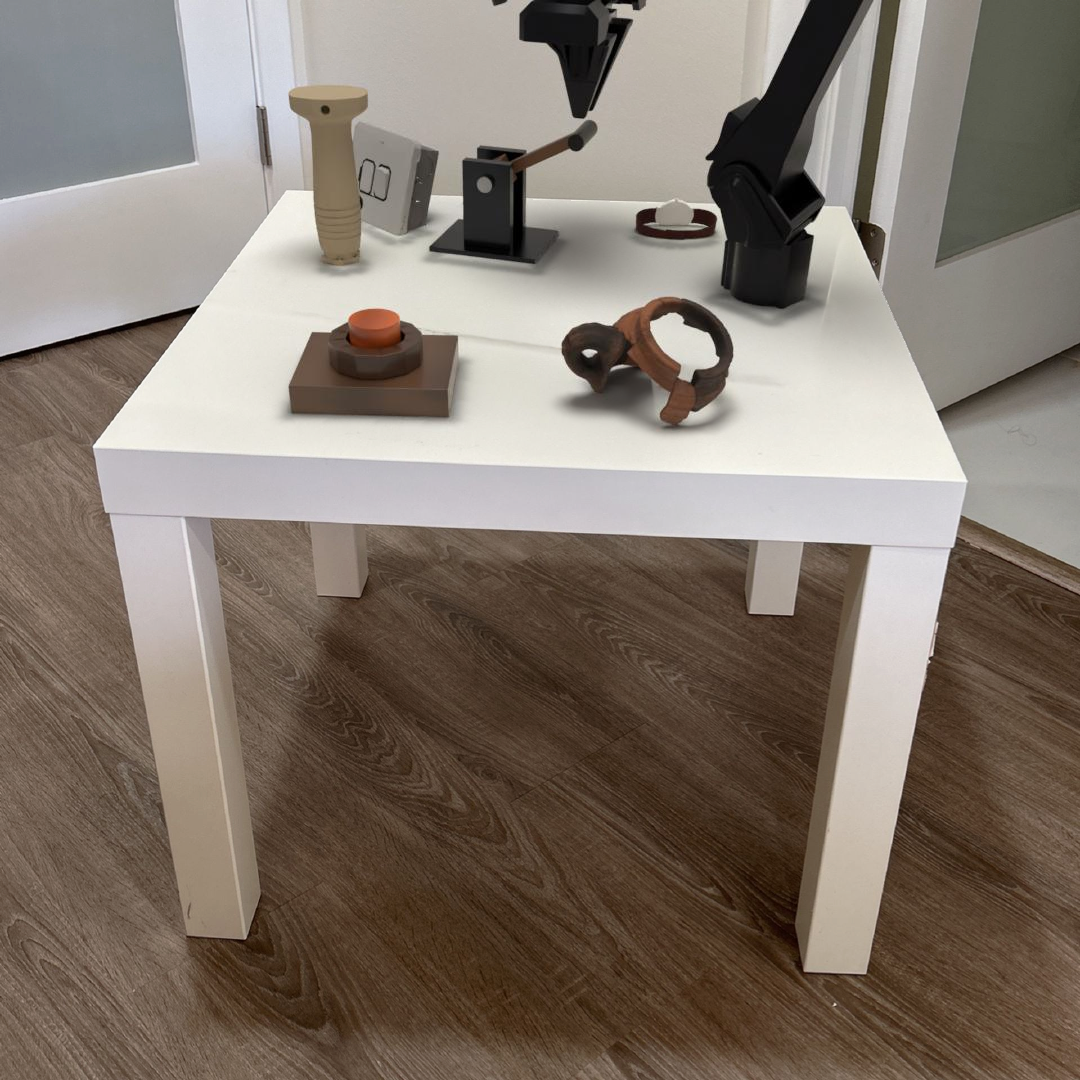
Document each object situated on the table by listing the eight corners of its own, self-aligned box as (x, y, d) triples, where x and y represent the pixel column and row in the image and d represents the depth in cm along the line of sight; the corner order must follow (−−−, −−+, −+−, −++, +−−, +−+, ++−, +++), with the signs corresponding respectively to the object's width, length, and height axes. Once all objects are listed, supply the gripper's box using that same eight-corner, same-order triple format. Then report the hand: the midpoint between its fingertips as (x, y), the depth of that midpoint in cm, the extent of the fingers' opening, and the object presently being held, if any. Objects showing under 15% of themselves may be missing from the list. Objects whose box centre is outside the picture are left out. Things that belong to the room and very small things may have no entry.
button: (403, 331, 86) (402, 308, 85) (397, 352, 83) (396, 329, 82) (354, 330, 86) (352, 307, 85) (346, 351, 83) (344, 328, 82)
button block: (458, 362, 90) (457, 312, 88) (448, 418, 82) (447, 365, 80) (314, 358, 90) (309, 309, 88) (291, 414, 82) (285, 361, 80)
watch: (711, 231, 115) (715, 194, 113) (718, 248, 111) (722, 210, 109) (632, 230, 115) (634, 193, 113) (636, 247, 111) (639, 209, 109)
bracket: (558, 242, 112) (561, 148, 107) (534, 272, 105) (536, 173, 100) (458, 230, 114) (456, 137, 109) (429, 259, 107) (425, 161, 102)
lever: (602, 137, 104) (591, 111, 103) (588, 153, 100) (576, 126, 99) (496, 185, 109) (484, 161, 108) (479, 201, 105) (466, 176, 104)
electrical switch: (339, 219, 116) (340, 121, 111) (382, 213, 119) (384, 117, 114) (397, 245, 110) (400, 143, 106) (440, 238, 114) (445, 139, 109)
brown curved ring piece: (675, 362, 91) (728, 291, 85) (701, 463, 87) (759, 397, 80) (533, 342, 87) (577, 265, 80) (552, 448, 82) (601, 375, 76)
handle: (375, 277, 104) (364, 100, 95) (302, 276, 103) (284, 99, 95) (380, 257, 108) (370, 85, 99) (309, 256, 107) (293, 84, 99)
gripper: (526, -110, 101) (524, 81, 110) (452, -85, 86) (457, 133, 95) (653, -103, 98) (641, 92, 107) (601, -77, 84) (591, 147, 92)
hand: (583, 114), depth 100 cm, fingers closed
